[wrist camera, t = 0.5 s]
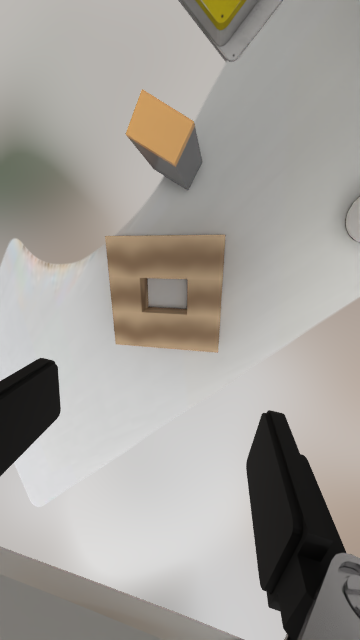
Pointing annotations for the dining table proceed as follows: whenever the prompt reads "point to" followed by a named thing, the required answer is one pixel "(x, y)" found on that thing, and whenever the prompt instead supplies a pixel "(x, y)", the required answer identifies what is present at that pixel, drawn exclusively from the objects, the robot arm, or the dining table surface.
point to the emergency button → (230, 22)
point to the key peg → (165, 139)
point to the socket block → (166, 263)
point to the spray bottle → (354, 220)
